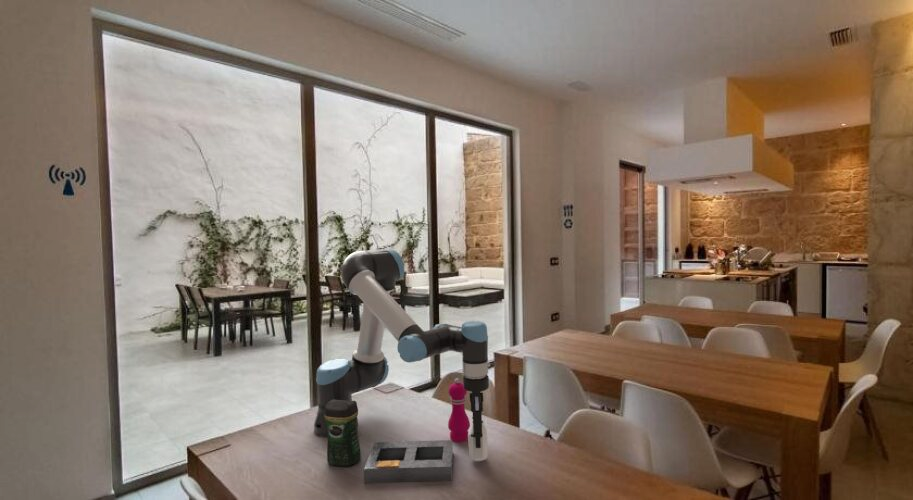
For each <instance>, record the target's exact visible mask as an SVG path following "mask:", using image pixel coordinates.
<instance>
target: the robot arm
mask: <svg viewBox="0 0 913 500" xmlns="http://www.w3.org/2000/svg"><path fill="white" fill-rule="evenodd" d="M340 273H341V274H340V276H341V280H342V282H343V284H344V286H345V288H346V289H347V290H348V291H349V292H350V294H352V295H354V296H355V295H356V296H357V297H359V299H360V300H361V301H362V302H363V305H362V306H363V307H362V314H361V321H360V328H359V338H358V344H357V348H355V349H354V350H353V351H352V356H351V357H352V358H351V360H349V359H347V358H336V359H335V358H334V359H331V360H328V361H325V362H324V363H322V364H320V365H319V366H318V368H317V369H316V379H315V381H316V391H317V392H316V393H317V406H318V407H317V413H316V416H315V420H314V423H313V430H314V434H316V435H318V436H319V437H323V438H324V437H326V438H328V430H327V422H326V419H325V406H326V404H327V403H328V402H330V401H331V400H333V399H335V400H346V401H353V399H352V395H353V394H356V393H359V392H362V391H365V390H368V389H371V388H375V387H378V386H379V385H381V384H382V383H384V382H385V381H386V379H387V378H388V375H389V370H390V369H389V364H388V360H387V357H386V356H385V353H384V352H383V351H382V345H383V339H384V332H385V328H386V330H387V331H388V332H389V333H390V334H391V335H392V336H393V338H394V339H395V341H397V353H398V354H399V358H400V359H402V361H403V362H404V363H415V362H419V361H420V362H421V361H422V360H424V359H428V358H432V357H434V356H437V355H441V354H444V353H447V352H456V353H461V355H462V375H463V377H462V381H463V382H462V383H463V387H464V389H465V390H467V392H469V402H470V411H471V412H472V417H471V419H472V424H473V433H474V434H471V437H473V452H474V458H483V438H482V436H483V434H482V423H483V424H484V420H483V418H482V417H483V416H482V415H483V414H482V412H483V410H484V407H483V406H484V405H483V403H484V393H483V392H484V391H487V390H488V389H489V387H490V377H489V375H488V374H489V367H491V363H489V356H488V355H489V353H488V352H489V350H488V347H489V346H488V344H489V343H488V342H489V341H488V340H489V336H488V327H487V324H486V323H485V322H484V321H480V320H479V321H478V320H477V321H476V320H475V321H473V320H472V321H465V322H463V323H462V324H461V326H459V325H458V326H456V325H451V324H449V323H438V324H437V323H436V324H435V325H434V327H432V328H431V329H428V330H423V328H421V327H420V326H419V325H418V323H416V321H415V320H414V319H413V318H412V317H411V316H410V315H409V314H408V313H407V312H406V311H405V309H404V308H402V306H401V305H400V304H399V303H398V302H397V300H395V299H394V298H393V297H392V296H391V295H390V293H391V292H392V291H394V290H395V287H396V283H397V281H400V280H401V279H402V278H403V276H404V274H405V263H404V260H403V259H402V256H401V255H400V253H399V252H398V251H397V250H394V249H391V248H380V249H369V250H357V251H354V252H352V253H350V254H349V255H348V256H347V257H346V258H345V259H344V261H343V262H342V265H341V269H340ZM358 426H359V419H358V417H357V428H358Z"/></svg>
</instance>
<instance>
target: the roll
mask: <svg viewBox="0 0 913 500" xmlns="http://www.w3.org/2000/svg"><path fill="white" fill-rule="evenodd" d="M487 432H488V431H487V427H486V425H485V424H484V422H483V423H482V434H483V436H482V438H483V458H474V452H473V437H471V434H474V433H473V423H472V424H470V427H469V429H468V440H467V443H468V455H469V456H468V457H469V459H470V460H471V461H474V462H482V461H484V460H487V458H488V455H489V454H488V453H489V452H488V451H489V449H488V433H487Z"/></svg>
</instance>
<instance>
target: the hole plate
mask: <svg viewBox="0 0 913 500" xmlns="http://www.w3.org/2000/svg"><path fill="white" fill-rule="evenodd" d="M372 446H373V447H372V449H371V451H370V454H369V455H368V458H367V460H366V462H365V465H364V468H363V479H364V481H363V483H364V484H383V483H384V484H385V483H386V484H387V483H388V484H389V483H391V484H392V483H416V482H417V483H419V482H449V481H450V482H451V481H452V478H453V477H452V476H453V475H452V474H453V471H452V470H453V453H454V450H453V441H452V440H451V439H443V440H440V439H439V440H437V439H436V440H414V441H413V440H411V441H410V440H409V441H405V440H404V441H383V442H382V441H379V442H377V441H375V442H374V443H373V445H372Z"/></svg>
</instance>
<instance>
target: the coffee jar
mask: <svg viewBox="0 0 913 500" xmlns="http://www.w3.org/2000/svg"><path fill="white" fill-rule="evenodd" d="M358 415H359V408H358V402H357V401H356V400H352V401H346V400H335V399H333V400H331V401H330V402H328V403H327V404H326V406H325V419H326V422H327V430H328V437H327V447H326V449H327V450H326V460H327V461H326V462H327V463H328V464H329V465H331V466H336V467H350V466H353V465H355V464H356V463H358V461H359V460H360V458H361V456H362V455H361V453H362V452H361V445H360V439H359V432H358V427H357V418H358Z"/></svg>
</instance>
